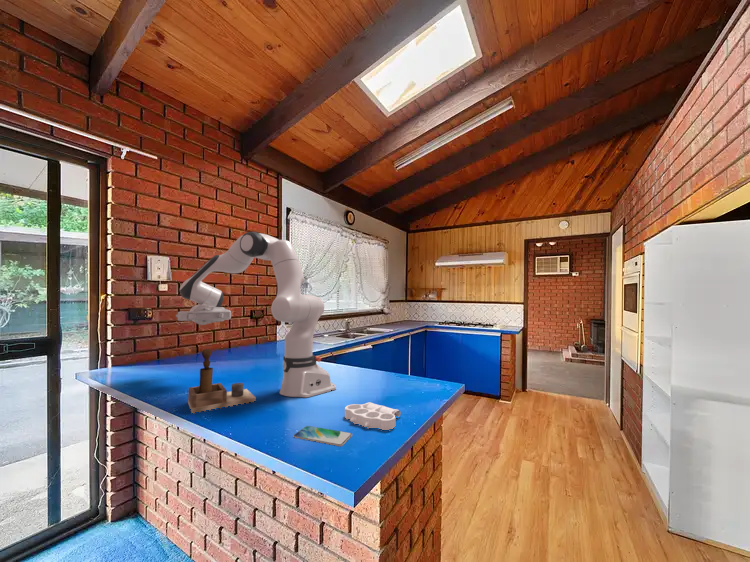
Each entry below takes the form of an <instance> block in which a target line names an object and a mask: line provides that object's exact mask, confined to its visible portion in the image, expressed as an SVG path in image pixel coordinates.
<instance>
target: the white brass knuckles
mask: <svg viewBox="0 0 750 562" xmlns="http://www.w3.org/2000/svg"><path fill="white" fill-rule="evenodd" d="M395 416H398V417H399V418H400V416H401V411H400V410H399V409H398V408H396V409H395V408H391V407H388V406H385V405H380V404H376V403H373V402H366V403H363V404H358V403H356V404H355V403H354V404H353V403H352V404H348V405H346V406H345V407H344V419H345V418H346V419H345V420H348V419H350V420H349V422H351V423H352V422H353V423H354V425H355V424H359V425H358V426H360V425H362V426H361V427H363V426H364V427H367V428H366V429H369V428H379V429H382V430H389V429H393V428H394V427H395V426H396V420H397V419H396V417H395ZM353 423H352V424H353ZM364 427H363V428H364ZM395 428H396V427H395ZM395 428H394V429H395ZM379 429H378V430H379ZM394 429H393V430H394ZM382 430H381V431H382ZM389 431H390V430H389Z"/></svg>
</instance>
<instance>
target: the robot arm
mask: <svg viewBox="0 0 750 562" xmlns="http://www.w3.org/2000/svg"><path fill="white" fill-rule="evenodd" d="M254 259H260V260H262V261H271V265H272V269H273V272H274V276H275V279H276V280H275V281H276V285H277V293H276V297H275V299H273V301H272V303H271V309H270V311H271V314H272V317H273V319H275V320H276V321H277V322H281V323H287V324H288V323H292V326H291V328H290V330H289V331H288V332H287V334H286V335H285V337H284V356H283V359H282V360H283V361H282V371H283V375H282V381H281V382H282V383H281V385H280V390H279V394H280V395H281V396H285V397H290V398H292V397H293V398H294V397H295V398H297V397H298V398H310V397H313V396H317V395H321V394H325V393H328V392H332V391H335V390H337V386H336V384H335V383H333V382H331V380H332V379H331V376H330V374H329V372H328V371H327V370H326V369H324V368H323V367H321V366H320V365H319V364H317V362H319V363H320V362H321V356H318V355H314V354H313V353H314V352H313V350H314V349H313V348H314V345H313V344H314V333H315V329H316V327H317V324H318V321H319V319H320V318H321V316H322V315H323V314H324V311H325V303H324V301H323V300H322V299H321V298H320V297H318V296H316V295H313V294H302V292H301V291H302V290H301V285H302V284H303V282H304V281H305V275H304V272H303V268H302V266H301V262H300V259H299V255H298V254H297V252H296V250H295V247H294V246H293V244H292V243H291V241H289V240H287V239H280V238H277V237H274V236H271V235H269V234H266V233H263V232H262V233H259V232H257V231H247V232H245V233H244V234H243V235H242V234H241V235H240V236H239V237H238V238H237V239H236V240H235V241H234V242H233V243H232V244H231V245H230V247H229V248H228V249H227V251H226V252H224V253H223V254H215V255H214V256H212V257H211V258H210V259H208V260H207V261H206V262H205V263H204V264H203V265H202V266H201V267H199V269H198V270H196V271H195V272H194V273H193V274H192V275H191V276H190V277H189V278H187V279H185V280H184V281H183V283H182V284H181V285H180V287H179V294H180V296H181V297H182V298H183V299H186V300H188V301H192V302H194V303H197V304H196V305H194V306H192V307H191V308H190V310H187V311H186V310H185V311H183V310H182V311H177V314H175V317H176V318H177V321H178V322H189V321H192V322H194V323H195V324H197V325H200V326H205V325H210V324H213V323H219V322H224V321H228V320H231V318H232V311H231V310H230V309H227V308H225V306H224V307H223V306H222V305H223V302H224V299H225V297H224V293H223V291H222V290H221V289H219V288H216V287H214V286H212V285H210V284H208V283H205V282H203V280H204V279H206V277H207V276H208V275H209V274H211V273H213V272H223V273H228V274H240V273H243V272H244V271H246V270H247V269H248V268H249V266H251V263H252V262H253V261H254ZM331 390H332V391H331Z"/></svg>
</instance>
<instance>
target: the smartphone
mask: <svg viewBox="0 0 750 562" xmlns="http://www.w3.org/2000/svg"><path fill="white" fill-rule="evenodd" d="M293 437H295V438H294V439H298V438H299V439H298V440H303V439H305V440H304V441H308V440H310V441H309V442H313V441H316V442H315V443H319V442H320V443H321V444H324V443H326V444H325V445H329V444H330V446H334V445H335V447H343V446H344V445H345V444H346V443H347V442H348V441H349V440H350V439H352V437H353V433H351V432H348V431H341V430H334V429H331V428H330V429H328V428H323V427H318V426H311V425H305V426H304V427H303V428H301V429H300V430H298V431H297V432H296V433H294V435H293V436H292V438H293Z"/></svg>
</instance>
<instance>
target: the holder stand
mask: <svg viewBox="0 0 750 562" xmlns="http://www.w3.org/2000/svg"><path fill="white" fill-rule="evenodd" d="M199 388H200V385H198V386H191V387H188V393H187V395H188V397H187V398H188V399H187V404H188V406H189V410H190V409H191V410H190V412H191V414H192V413H193V414H196V413H195V412H199V413H202V412H201V411H204V412H207V411H206V410H209V411H212V410H211V409H215V410H217V409H216V408H220V409H223V408H222V407H225V408H228V406H230V407H234V406H233V405H236V406H239V405H238V404H241V405H245V404H244V403H246V404H250V403H249V402H251V403H255V402H254V401H257V400H256V399H257V398H256V396H255V395H254V394H253V393H252V392H251V391H250V390H248V388H244V383H243V382H235V383H232V384H231V390H230V391H227V389H226V388H225V386H224V385H223V384H222V382H218V383H212V391H214V392H208V393H201V394H197V393H198V392H199Z"/></svg>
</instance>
